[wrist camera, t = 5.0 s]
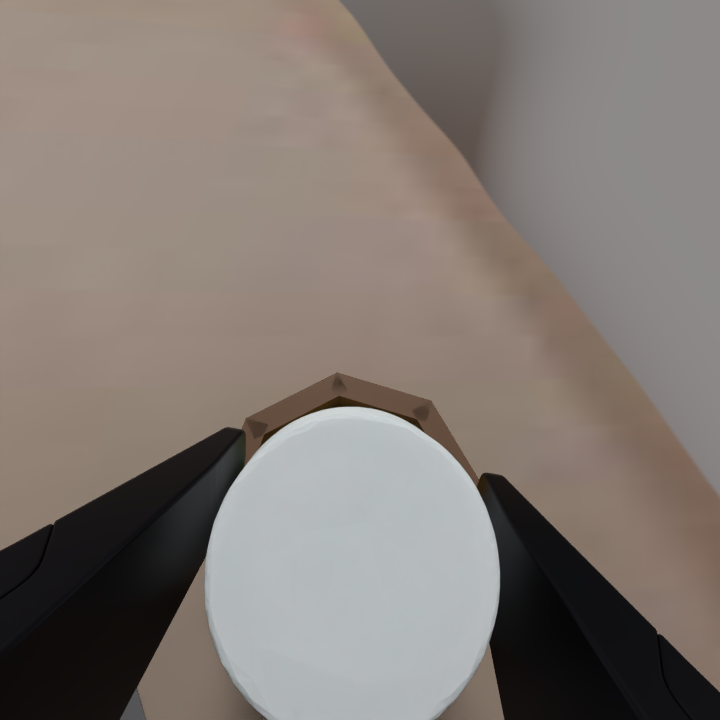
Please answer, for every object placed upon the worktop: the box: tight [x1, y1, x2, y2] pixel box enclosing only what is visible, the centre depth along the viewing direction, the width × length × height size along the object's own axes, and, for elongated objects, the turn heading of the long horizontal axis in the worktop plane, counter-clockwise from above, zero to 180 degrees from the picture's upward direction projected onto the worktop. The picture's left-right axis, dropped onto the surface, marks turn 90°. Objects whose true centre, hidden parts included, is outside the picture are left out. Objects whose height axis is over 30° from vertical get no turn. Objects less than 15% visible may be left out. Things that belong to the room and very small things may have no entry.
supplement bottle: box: [204, 407, 500, 720], centre depth 9 cm, size 5×5×10 cm
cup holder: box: [242, 372, 479, 487], centre depth 13 cm, size 9×9×4 cm
